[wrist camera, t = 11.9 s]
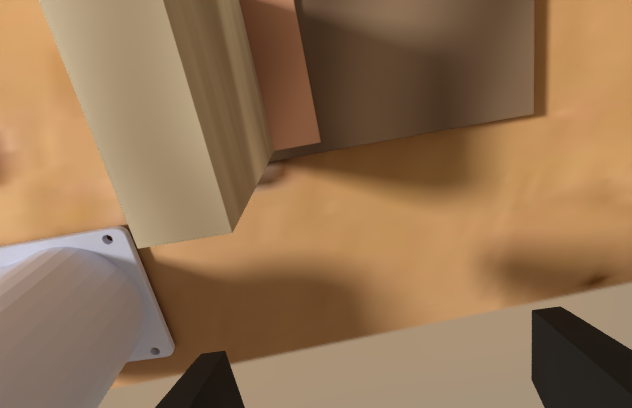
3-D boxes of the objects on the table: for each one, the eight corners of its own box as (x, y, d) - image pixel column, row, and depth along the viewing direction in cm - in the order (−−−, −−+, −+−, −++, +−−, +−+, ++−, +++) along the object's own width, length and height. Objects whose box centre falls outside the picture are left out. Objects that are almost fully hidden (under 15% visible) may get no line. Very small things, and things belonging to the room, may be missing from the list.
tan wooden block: (220, 160, 17) (137, 248, 10) (176, 8, 15) (27, -28, 8) (274, 150, 17) (232, 233, 10) (237, -6, 15) (146, -57, 7)
